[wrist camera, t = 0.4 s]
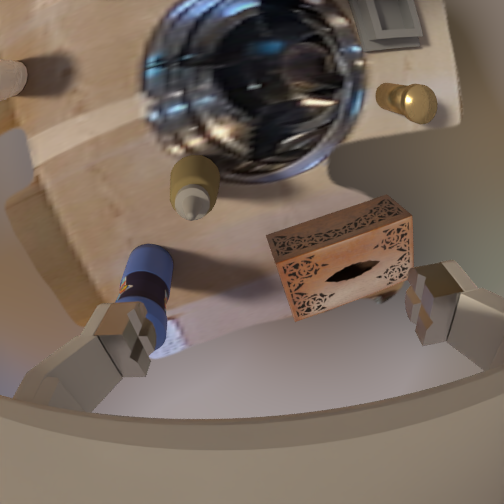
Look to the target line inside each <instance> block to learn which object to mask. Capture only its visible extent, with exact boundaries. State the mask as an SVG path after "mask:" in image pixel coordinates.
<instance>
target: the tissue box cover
mask: <svg viewBox="0 0 504 504" xmlns="http://www.w3.org/2000/svg"><path fill="white" fill-rule="evenodd" d="M266 237H267V240H268V243H269V246H270V249H271V252H272V255H273V258H274V261H275V264H276V267H277V270H278V273H279V276H280V279H281V282H282V285H283V288H284V291H285V294H286V297H287V300H288V303H289V306H290V309H291V312H292V315H293V318H294V320H295V322H296V321H299V320H302V319H305V318H308V317H311V316H313V315H316V314H319V313H322V312H325V311H328V310H330V309H333V308H336V307H339V306H341V305H344V304H347V303H350V302H352V301H355V300H357V299H360V298H363V297H365V296H368V295H371V294H373V293H376V292H378V291H381V290H383V289H386V288H388V287H391V286H393V285H396V284H398V283H401V282H403V281H405V280H407V279H408V272H409V270H410V268H413V267H414V259H413V257H414V255H413V253H414V252H413V222H412V215H411V214H410V213H409V212H407V211H406V210H405V209H404V208H403V207H401V206H400V205H399V204H398V203H397V202H395V201H394V200H393V199H392V198H391V197H389V196H388V195H384V196H380V197H377V198H374V199H373V200H370V201H367V202H364V203H361V204H358V205H355V206H352V207H349V208H346V209H343V210H340V211H337V212H334V213H331V214H328V215H325V216H322V217H319V218H316V219H313V220H310V221H307V222H304V223H301V224H298V225H295V226H292V227H289V228H286V229H283V230H280V231H277V232H274V233H271V234H268V235H266ZM361 263H362V264H361Z"/></svg>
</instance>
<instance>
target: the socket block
mask: <svg viewBox="0 0 504 504" xmlns="http://www.w3.org/2000/svg"><path fill="white" fill-rule="evenodd" d="M348 1H349V4H350V7H351V10H352V13H353V16H354V20H355V23H356V27H357V30H358V34H359V37H360V41H361V45H362V49H363V52H366V51H374V50H383V49H393V48H404V47H418V46H420V42H419V38H418V36H423V33H422V29H421V25H420V21H419V17H418V14H417V10H416V6H415V3H414V0H348Z"/></svg>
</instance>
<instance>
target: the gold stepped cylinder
mask: <svg viewBox="0 0 504 504" xmlns="http://www.w3.org/2000/svg"><path fill="white" fill-rule="evenodd" d="M376 101H377V103H378V105H379V106H380V107H381V108H383V109H385V110H389V111H392V112H395V113H399V114H402V115H405V117H406V118H407V119H409V120H410V121H412V122H415V123H418V124H426V123H428V122H430V121H431V120H432V119H433V118H434V116H435V114H436V111H437V99H436V96H435V94H434V92H433V91H432V90H431V89H430V88H429V87H427V86H425V85H420V84H411V85H409V86H405V85H399V84H392V83H383V84H381V85H380V86H379V87H378V88H377V91H376Z"/></svg>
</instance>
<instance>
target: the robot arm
mask: <svg viewBox="0 0 504 504" xmlns="http://www.w3.org/2000/svg"><path fill="white" fill-rule="evenodd" d="M407 280H408V281H409V283H410V285H411V286H410V287H409V289H408V290H407V291H406V295H405V306H406V312H407V315H408V317H409V319H410V321H411V322H413V323H415V324H416V329H415V332H416V334H417V336H418V338H419V340H420V342H421V344H422V346H425V345H431V344H435V343H440V342H444V341H447V343H449V344H450V345H451V346H452V347H454V348H455V349H456V350H458V351H459V352H460V353H462V354H463V355H465V356H466V357H467V358H468V359H470V360H471V361H472V362H474V363H475V364H476V365H477V366H479V367H480V368H481V369H483V370H484V371H483V372H481V373H478V374H475V375H472V376H469V377H466V378H463V379H460V380H457V381H454V382H451V383H447V384H444V385H440V386H437V387H433V388H429V389H426V390H422V391H419V392H415V393H410V394H406V395H402V396H398V397H393V398H389V399H384V400H380V401H375V402H370V403H365V404H359V405H354V406H349V407H343V408H336V409H329V410H322V411H315V412H307V413H299V414H289V415H279V416H267V417H253V418H235V419H234V418H233V419H164V418H144V417H129V416H118V415H108V414H99V413H91V412H92V411H93V410H94V409H95V408H96V407H97V405H98V404H99V403H100V402H101V401H102V400H103V399H104V398H105V397H106V396H107V395H108V394H109V392H111V390H112V389H113V388H114V387H115V386H116V385H117V384H118V383H119V382H120V381H121V380H122V377H146V375H147V371H148V368H149V365H150V362H151V360H150V359H149V357H148V356H149V355H150V354H151V353H152V352H153V351H154V350H155V347H156V331H155V327H154V325H153V323H152V322H151V321H150V320H148V319H147V318H146V314H147V310H146V307H145V305H144V303H142V302H140V301H136V302H119V303H104V304H100V305H98V306H97V308H96V309H95V311H94V313H93V314H92V316H91V318H90V320H89V321H88V323H87V325H86V326H85V328H84V330H83V332H82V333H81V335H80V336H76V337H75V338H73V339H72V340H70V341H69V342H68V343H66V344H65V345H64V346H62V347H61V348H60V349H58V350H57V351H55V352H54V353H53V354H51V355H50V356H49V357H47V358H46V359H45V360H43V361H42V362H40V363H39V364H38V365H37V366H35V367H34V368H32V369H31V370H30V371H28V372H27V373H26V375H25V377H24V378H23V380H22V382H21V384H20V385H19V387H18V389H17V391H16V393H15V395H14V396H13V398H9V397H5V396H2V395H0V504H504V298H503V297H501V296H499V295H497V294H495V293H493V292H490V291H488V290H486V289H484V288H479V289H478V287H477V286H476V285H475V284H474V283H473V281H472V280H471V279H470V278H469V276H468V275H467V274H466V273H465V272H464V270H463V269H462V268H461V267H460V266H459V265H458V263H457V262H456V261H454V260H448V261H443V262H439V263H435V264H430V265H424V266H419V267H413V268H410V270H409V272H408V279H407Z"/></svg>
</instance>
